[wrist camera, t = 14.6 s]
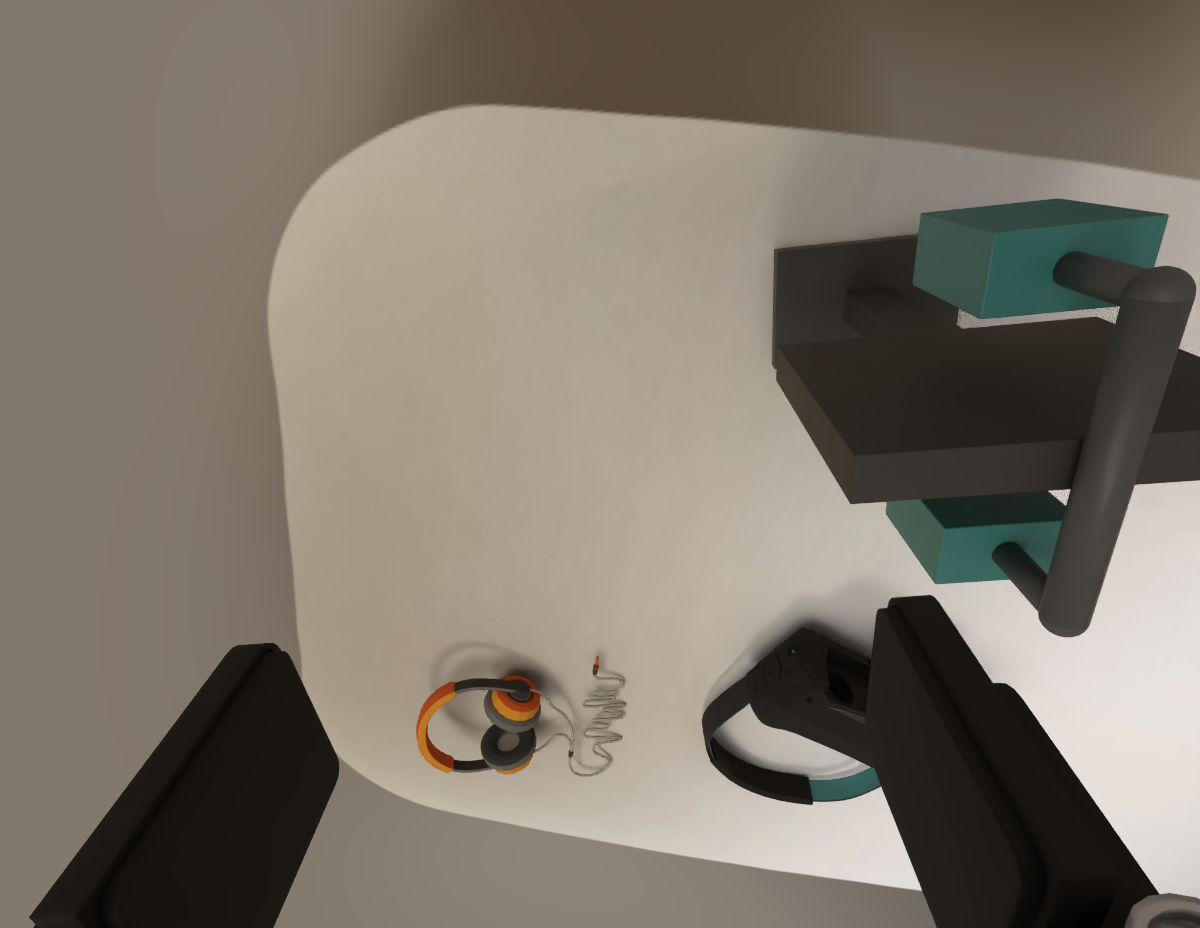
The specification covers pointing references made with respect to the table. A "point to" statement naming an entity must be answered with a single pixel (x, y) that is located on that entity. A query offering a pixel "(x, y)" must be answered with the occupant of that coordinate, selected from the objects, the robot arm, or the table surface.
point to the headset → (1121, 408)
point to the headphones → (507, 724)
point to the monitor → (946, 383)
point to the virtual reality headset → (800, 716)
